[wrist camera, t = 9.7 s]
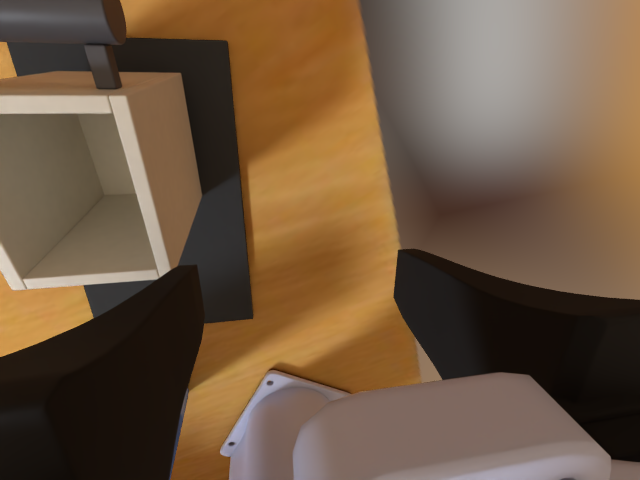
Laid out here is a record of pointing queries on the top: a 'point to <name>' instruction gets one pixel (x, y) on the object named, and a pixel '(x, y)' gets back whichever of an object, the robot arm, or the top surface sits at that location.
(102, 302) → the mat
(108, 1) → the white case
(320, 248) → the top surface
